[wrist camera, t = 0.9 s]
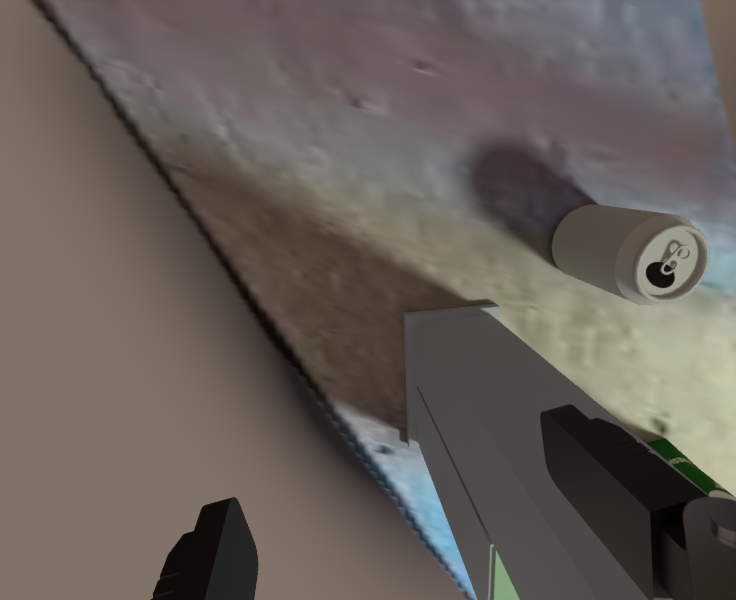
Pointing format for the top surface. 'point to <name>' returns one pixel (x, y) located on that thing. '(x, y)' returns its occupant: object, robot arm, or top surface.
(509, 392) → the stand
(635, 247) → the can
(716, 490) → the milk carton
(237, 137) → the top surface
